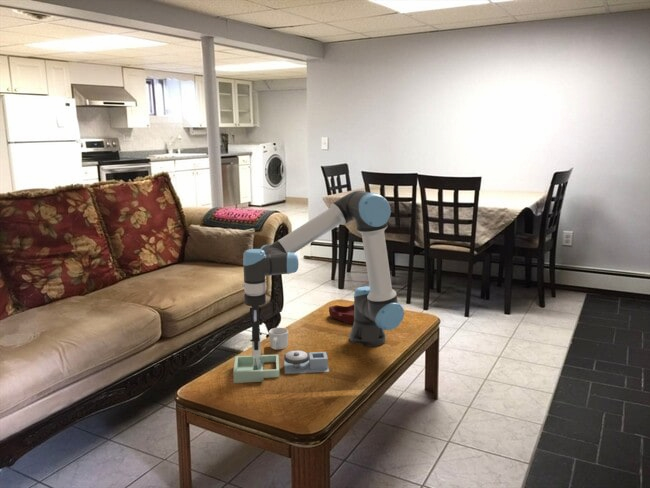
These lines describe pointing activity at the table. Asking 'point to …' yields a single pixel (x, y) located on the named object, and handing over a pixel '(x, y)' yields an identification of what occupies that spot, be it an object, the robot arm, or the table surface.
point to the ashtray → (342, 313)
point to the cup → (278, 338)
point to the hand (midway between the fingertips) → (256, 355)
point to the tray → (247, 374)
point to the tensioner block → (305, 362)
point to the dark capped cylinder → (257, 360)
